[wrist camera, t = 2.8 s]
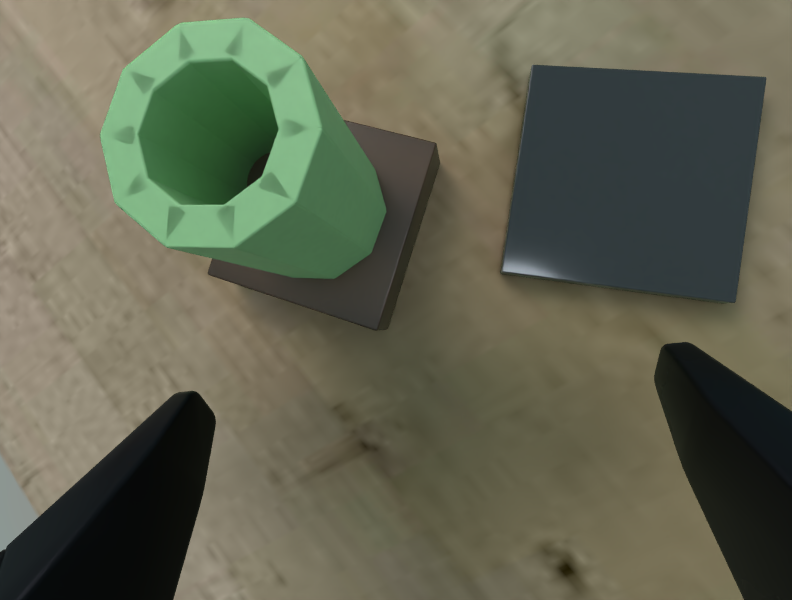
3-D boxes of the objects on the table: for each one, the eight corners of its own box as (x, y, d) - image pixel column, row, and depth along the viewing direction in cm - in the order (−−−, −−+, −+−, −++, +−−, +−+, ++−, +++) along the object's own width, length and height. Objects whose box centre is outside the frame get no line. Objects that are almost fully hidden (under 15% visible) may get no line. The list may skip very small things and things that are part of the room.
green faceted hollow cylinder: (362, 122, 21) (282, -22, 12) (400, 258, 20) (345, 211, 12) (239, 166, 22) (82, 62, 13) (272, 297, 21) (131, 281, 12)
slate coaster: (723, 303, 20) (736, 303, 19) (499, 274, 22) (501, 271, 21) (753, 88, 21) (767, 76, 20) (529, 75, 22) (531, 64, 21)
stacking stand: (387, 329, 23) (350, 334, 16) (233, 279, 24) (139, 262, 18) (440, 161, 23) (426, 92, 16) (282, 121, 24) (207, 42, 17)
